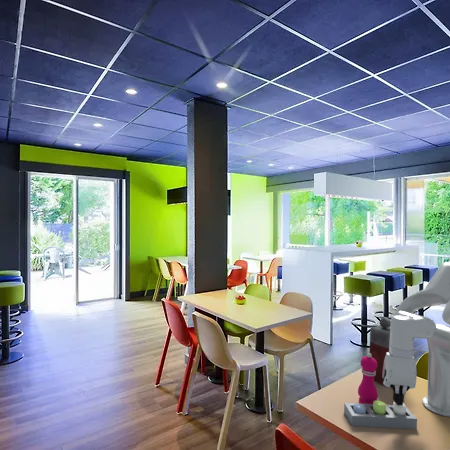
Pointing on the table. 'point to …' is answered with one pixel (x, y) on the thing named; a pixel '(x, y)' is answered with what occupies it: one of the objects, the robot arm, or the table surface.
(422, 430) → the table surface
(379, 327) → the brown salt grinder
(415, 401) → the table surface
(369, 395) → the pepper mill
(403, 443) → the table surface
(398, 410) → the white rounded piece
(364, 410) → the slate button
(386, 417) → the panel
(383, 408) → the lime button
